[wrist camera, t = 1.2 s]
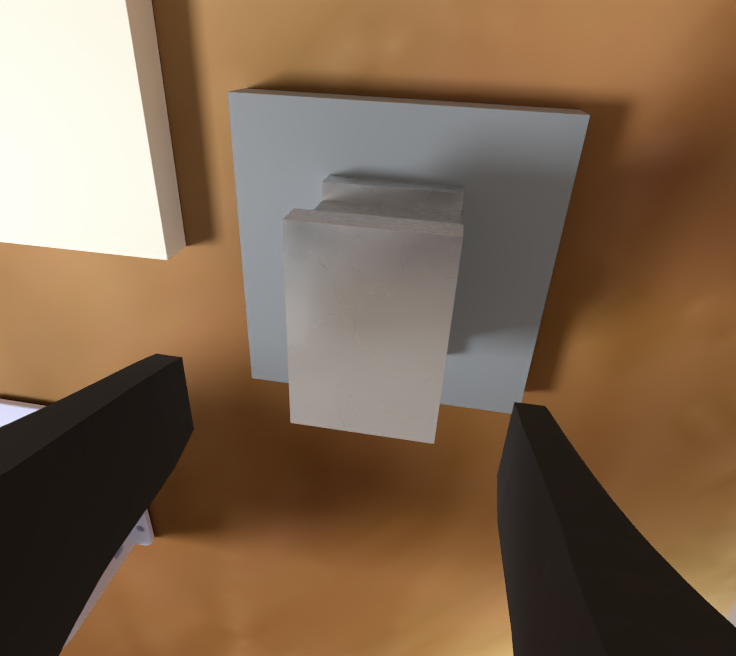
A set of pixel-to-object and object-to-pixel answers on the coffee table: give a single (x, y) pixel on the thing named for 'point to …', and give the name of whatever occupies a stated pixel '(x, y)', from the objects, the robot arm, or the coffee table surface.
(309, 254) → the block
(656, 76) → the coffee table surface
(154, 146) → the stand
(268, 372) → the stand
